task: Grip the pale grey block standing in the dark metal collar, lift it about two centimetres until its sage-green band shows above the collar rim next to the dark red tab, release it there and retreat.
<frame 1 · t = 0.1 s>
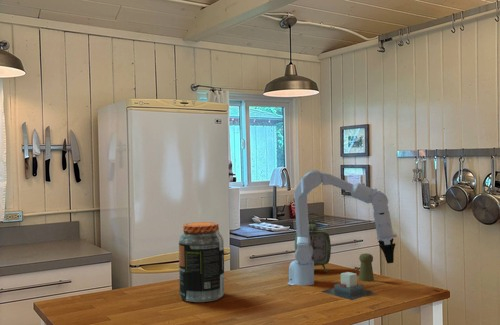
hand: (389, 260, 182), 11 cm above the kitchen island, tool pointing down, fingers open, 7 cm apart
green pawn: (366, 282, 193), on the kitchen island
tabletop clock: (312, 271, 211), on the kitchen island
pale grey block: (348, 282, 176), point 4 cm above the kitchen island, slide at 0.0 cm
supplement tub: (202, 297, 175), on the kitchen island
stand base: (348, 294, 176), on the kitchen island
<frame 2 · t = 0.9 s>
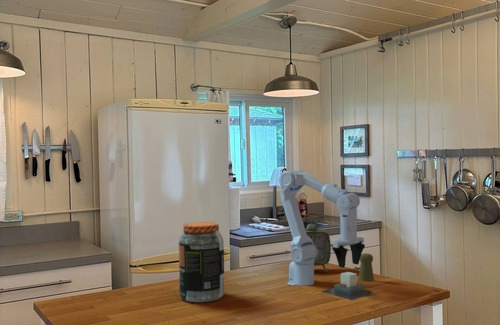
hand: (348, 265, 176), 10 cm above the kitchen island, tool pointing down, fingers open, 7 cm apart
nothing on the kitchen island moved.
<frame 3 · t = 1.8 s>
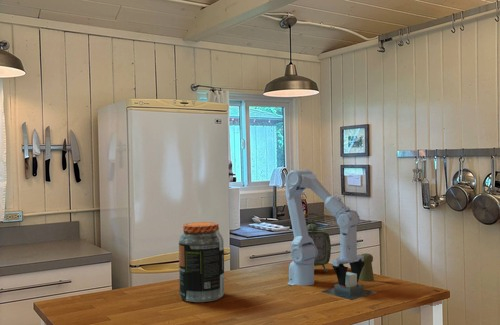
hand: (348, 283, 176), 4 cm above the kitchen island, tool pointing down, fingers open, 7 cm apart
nothing on the kitchen island moved.
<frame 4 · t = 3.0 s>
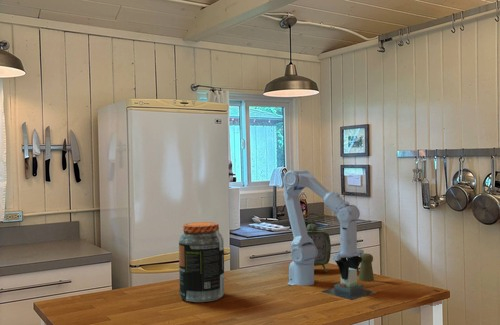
hand: (348, 278, 176), 6 cm above the kitchen island, tool pointing down, fingers closed on pale grey block, 4 cm apart
pale grey block: (348, 278, 176), point 6 cm above the kitchen island, slide at 1.6 cm, touching gripper
everything else where it was.
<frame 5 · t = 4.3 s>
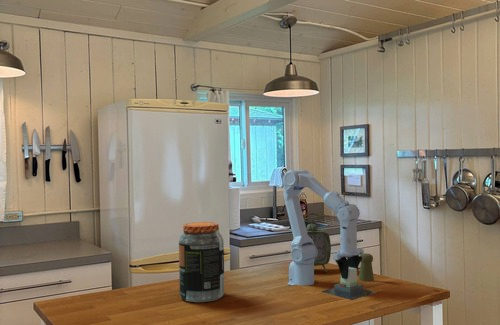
hand: (348, 277, 176), 6 cm above the kitchen island, tool pointing down, fingers closed on pale grey block, 4 cm apart
pale grey block: (348, 277, 176), point 6 cm above the kitchen island, slide at 1.8 cm, touching gripper
everything else where it was.
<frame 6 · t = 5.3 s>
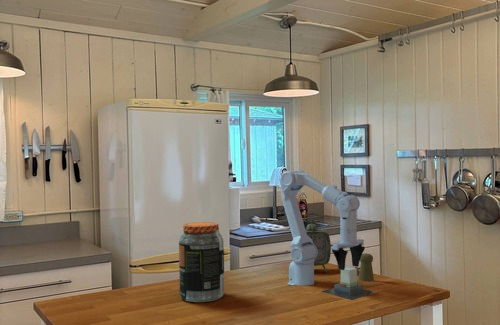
hand: (348, 267, 176), 10 cm above the kitchen island, tool pointing down, fingers open, 7 cm apart
pale grey block: (348, 277, 176), point 6 cm above the kitchen island, slide at 1.8 cm
everything else where it was.
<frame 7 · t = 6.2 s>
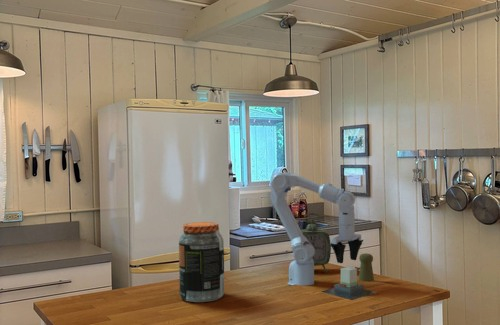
hand: (346, 261, 183), 10 cm above the kitchen island, tool pointing down, fingers open, 7 cm apart
nothing on the kitchen island moved.
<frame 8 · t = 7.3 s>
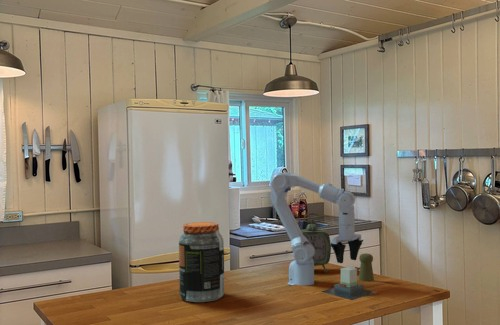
hand: (346, 261, 183), 10 cm above the kitchen island, tool pointing down, fingers open, 7 cm apart
nothing on the kitchen island moved.
at the end: pale grey block slide at 1.8 cm; the gripper is holding nothing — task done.
